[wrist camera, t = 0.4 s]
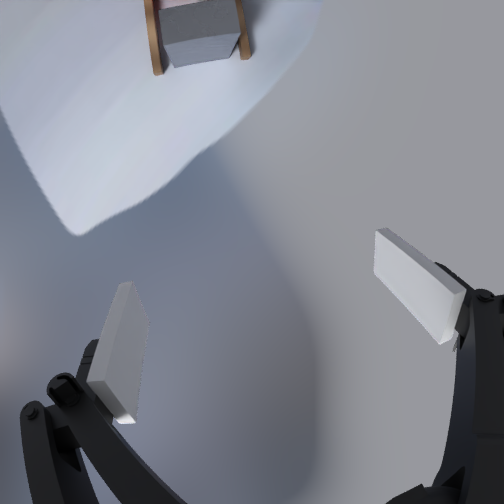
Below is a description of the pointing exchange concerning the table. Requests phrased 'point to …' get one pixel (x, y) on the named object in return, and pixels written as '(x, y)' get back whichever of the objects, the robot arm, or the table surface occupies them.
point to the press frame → (154, 42)
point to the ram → (199, 31)
